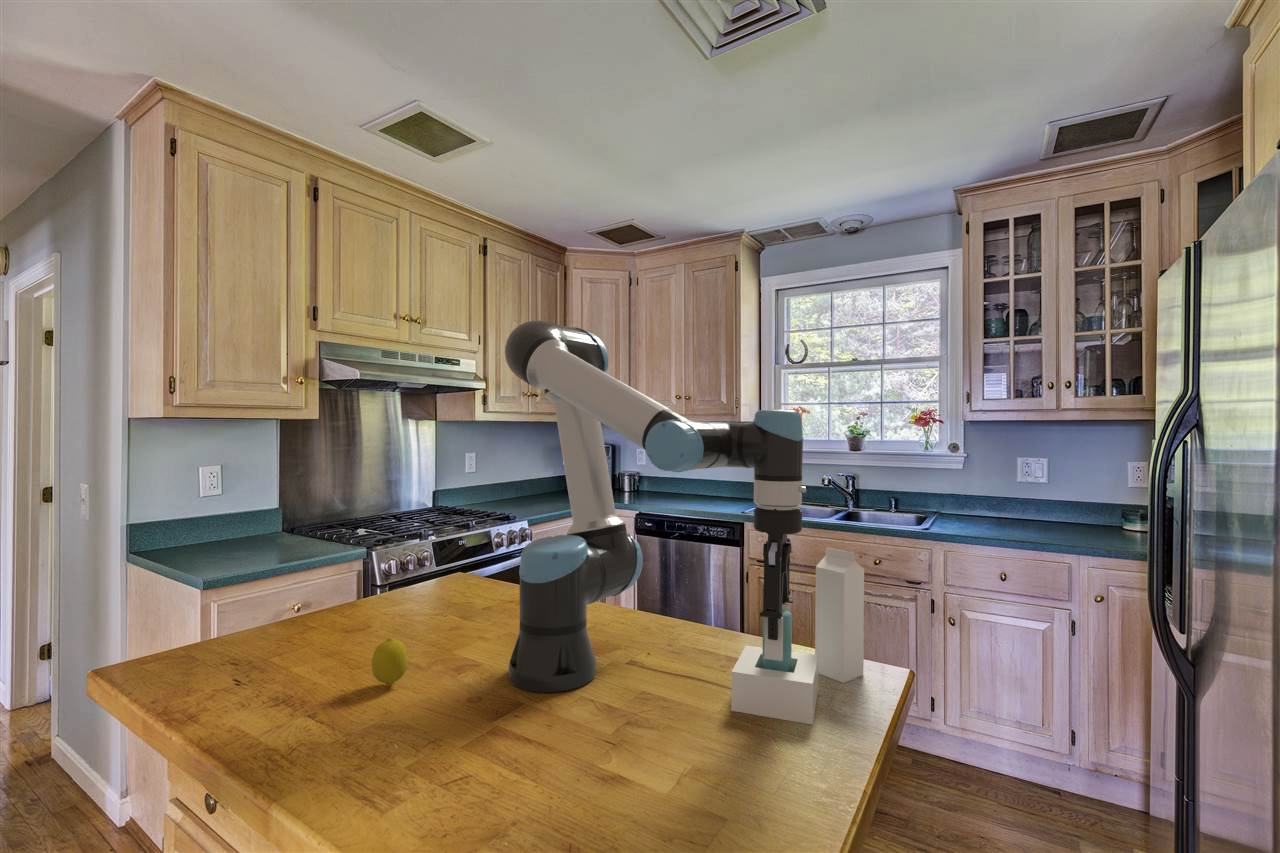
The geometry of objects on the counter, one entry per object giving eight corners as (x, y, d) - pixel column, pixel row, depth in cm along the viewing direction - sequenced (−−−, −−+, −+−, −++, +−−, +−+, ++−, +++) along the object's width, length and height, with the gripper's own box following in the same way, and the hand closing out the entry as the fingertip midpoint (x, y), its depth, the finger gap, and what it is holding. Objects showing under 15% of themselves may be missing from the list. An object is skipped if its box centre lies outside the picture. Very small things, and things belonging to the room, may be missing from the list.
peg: (760, 704, 95) (760, 615, 95) (764, 692, 99) (765, 607, 99) (789, 709, 93) (790, 619, 93) (792, 697, 97) (793, 610, 97)
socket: (731, 710, 92) (731, 671, 92) (745, 680, 104) (745, 645, 104) (812, 724, 88) (812, 683, 88) (818, 691, 100) (818, 655, 100)
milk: (843, 684, 103) (844, 555, 103) (814, 672, 108) (814, 549, 108) (864, 675, 106) (865, 550, 106) (834, 664, 111) (835, 545, 111)
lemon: (414, 682, 102) (415, 635, 102) (388, 695, 97) (389, 645, 97) (390, 676, 104) (391, 630, 104) (363, 689, 99) (364, 640, 99)
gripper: (795, 515, 86) (794, 677, 86) (807, 501, 104) (806, 634, 104) (743, 512, 88) (741, 670, 88) (763, 498, 107) (762, 629, 106)
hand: (776, 650), depth 96 cm, fingers open, 7 cm apart
